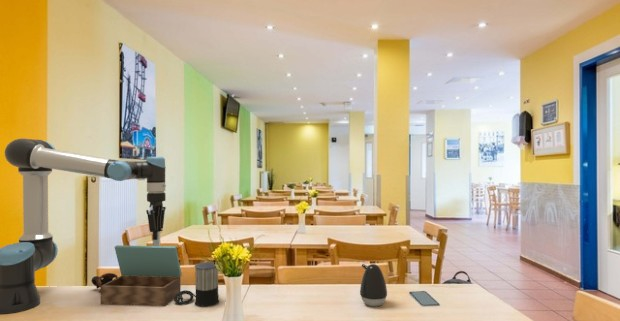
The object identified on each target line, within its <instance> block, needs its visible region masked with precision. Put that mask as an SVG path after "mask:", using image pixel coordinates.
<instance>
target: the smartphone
mask: <svg viewBox="0 0 620 321" xmlns="http://www.w3.org/2000/svg"><path fill="white" fill-rule="evenodd" d="M408 295H410V296H411V298H413V299H414V300H415V302H416V303H418V304H419V305H420V306H421V307H439V306H440V303H439V301H437V300H436V299H435V298H433V296H432V295H431V294H430V293H429V292H427V291H426V290H417V291H414V290H413V291H409V293H408Z"/></svg>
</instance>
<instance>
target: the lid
mask: <svg viewBox="0 0 620 321" xmlns="http://www.w3.org/2000/svg"><path fill="white" fill-rule="evenodd" d="M114 251H115V255H116V259H117V262H118V267H119V270H120V276H152V277H180V278H181V277H182V270H181V264H180V261H179V260H180V259H179V254H178V248H177V246H175V245H174V246H172V245H163V246H162V245H160V246H153V245H115V246H114Z"/></svg>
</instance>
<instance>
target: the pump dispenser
mask: <svg viewBox="0 0 620 321" xmlns="http://www.w3.org/2000/svg"><path fill="white" fill-rule="evenodd" d="M361 267H362V268H363V269H364V272H363V275H362V279H361V282H360V288H359V295H360V297H361V300H362V302H363V303H364V304H365V305H366V306H368V307H369V306H370V307H380V306H381V305H383V304H384V303H385V302H386V299H387V297H388V290H387V288H388V287H387V284H386V279H385V276H384V274H383V271H382V269H381V268H380V266H379V265H378V264H376V263H371V264H369V265H368V266H367V265H366V264H364V263H362V264H361Z"/></svg>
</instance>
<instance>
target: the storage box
mask: <svg viewBox="0 0 620 321" xmlns="http://www.w3.org/2000/svg"><path fill="white" fill-rule="evenodd" d="M117 277H118V278H115V279H114V278H113V280H112V281H110V282H108V283H106V284H104V285H102V286H100V288H99V291H101V293H100V305H106V306H107V305H113V306H115V305H116V306H140V307H141V306H143V307H144V306H145V307H147V306H148V307H166V306H167V305H168V304H170V303H171V302H172V301H174V297H175V295H176V294H177V293H179V292H181V291H182V288H181V277H155V276H121V275H120V276H117Z"/></svg>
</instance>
